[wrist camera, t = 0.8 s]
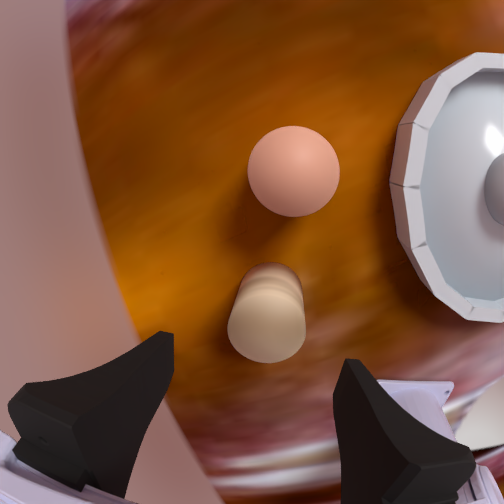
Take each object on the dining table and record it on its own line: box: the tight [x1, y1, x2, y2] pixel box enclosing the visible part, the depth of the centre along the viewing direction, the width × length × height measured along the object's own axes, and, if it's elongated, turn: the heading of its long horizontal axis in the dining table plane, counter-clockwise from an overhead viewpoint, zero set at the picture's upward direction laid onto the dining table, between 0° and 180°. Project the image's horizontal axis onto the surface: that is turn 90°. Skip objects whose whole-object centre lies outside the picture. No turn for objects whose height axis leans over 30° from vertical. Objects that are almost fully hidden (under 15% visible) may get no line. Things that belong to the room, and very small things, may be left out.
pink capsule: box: [248, 126, 340, 217], centre depth 16 cm, size 4×4×5 cm
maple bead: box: [227, 262, 306, 363], centre depth 18 cm, size 4×4×5 cm
